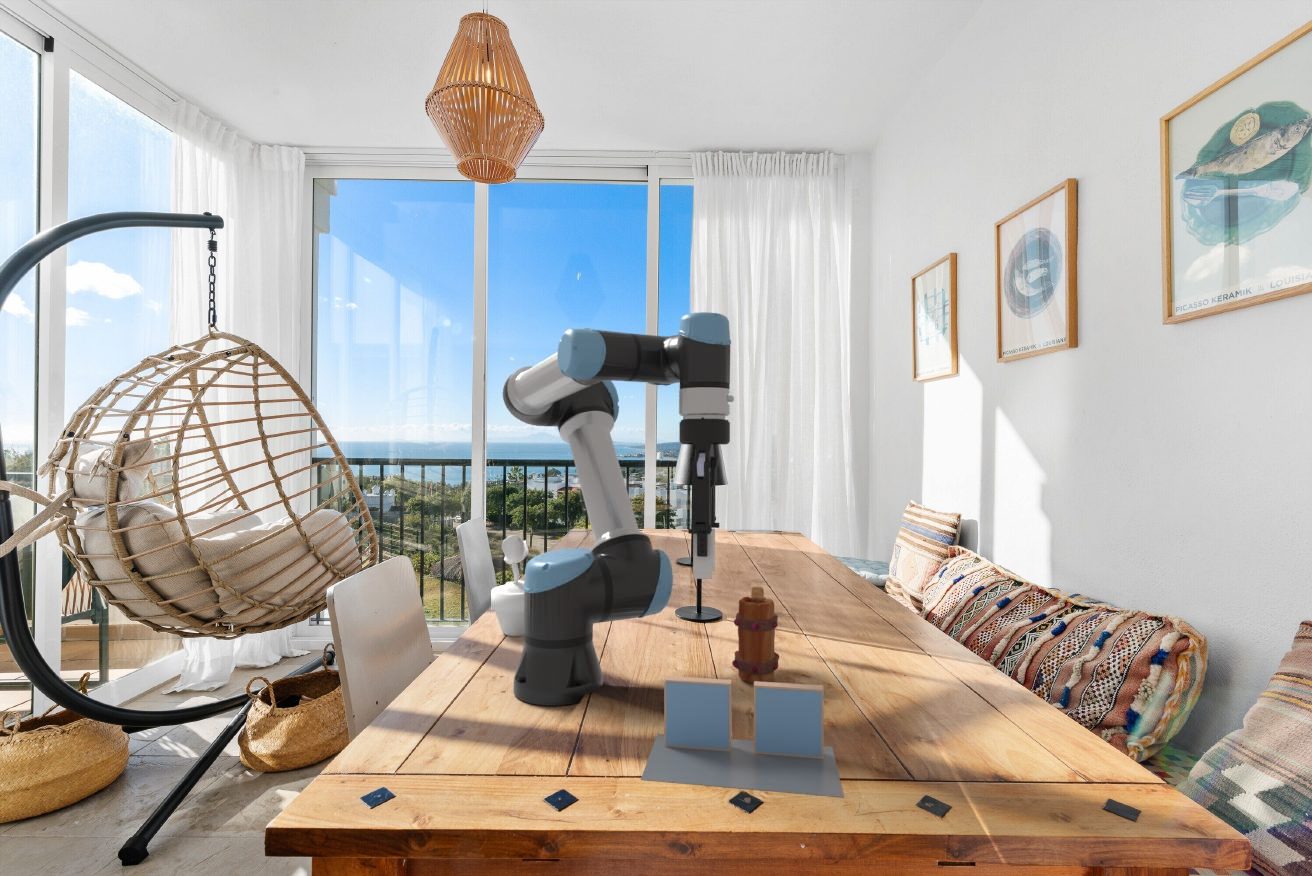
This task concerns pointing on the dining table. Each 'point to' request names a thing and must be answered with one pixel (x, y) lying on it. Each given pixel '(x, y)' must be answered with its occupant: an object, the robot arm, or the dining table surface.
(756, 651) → the mug
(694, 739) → the tile left
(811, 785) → the slate board
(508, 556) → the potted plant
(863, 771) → the dining table surface
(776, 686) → the tile right
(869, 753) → the dining table surface
